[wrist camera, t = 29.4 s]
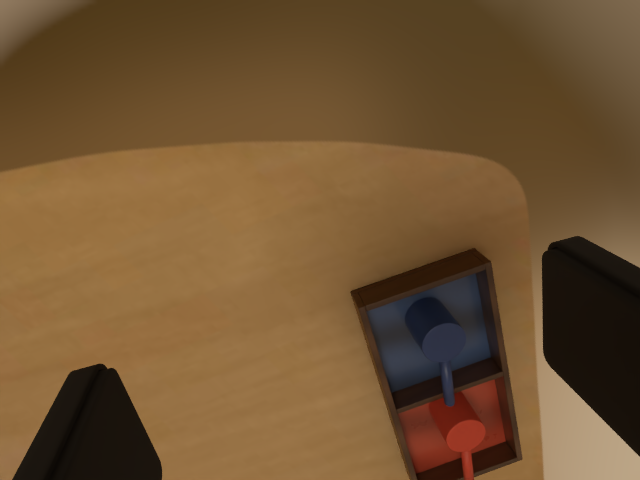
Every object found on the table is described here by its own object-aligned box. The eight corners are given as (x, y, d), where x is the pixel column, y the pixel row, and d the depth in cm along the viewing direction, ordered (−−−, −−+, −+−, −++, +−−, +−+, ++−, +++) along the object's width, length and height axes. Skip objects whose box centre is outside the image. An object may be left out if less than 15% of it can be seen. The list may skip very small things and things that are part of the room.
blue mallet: (402, 303, 42) (419, 330, 38) (443, 292, 43) (464, 317, 39) (414, 382, 46) (431, 414, 42) (452, 372, 47) (472, 402, 42)
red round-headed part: (426, 394, 47) (444, 426, 43) (463, 383, 47) (484, 415, 43) (436, 459, 51) (453, 495, 47) (470, 449, 51) (490, 484, 47)
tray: (350, 291, 42) (358, 308, 39) (474, 247, 42) (491, 261, 40) (407, 474, 52) (417, 498, 49) (507, 437, 53) (522, 459, 50)
